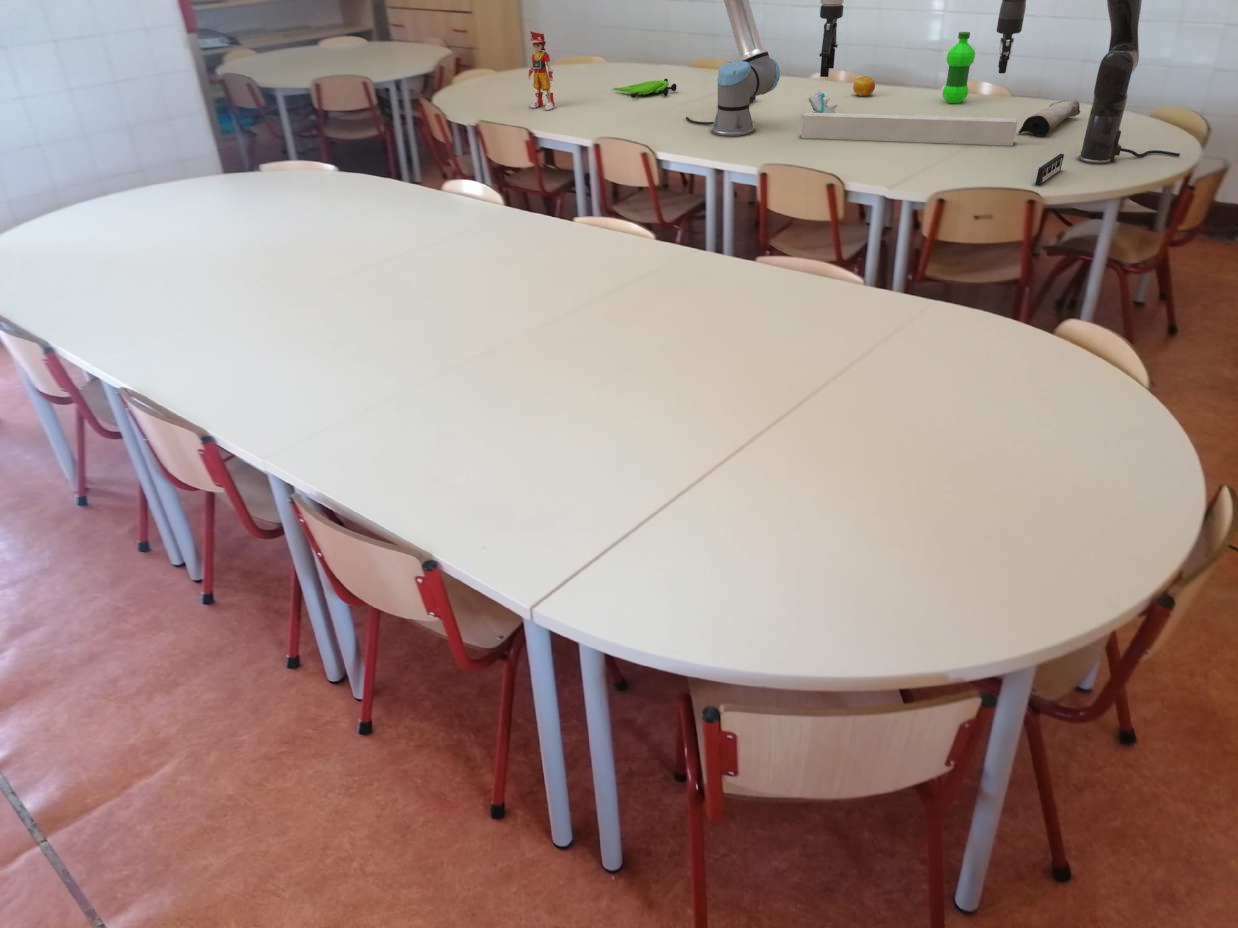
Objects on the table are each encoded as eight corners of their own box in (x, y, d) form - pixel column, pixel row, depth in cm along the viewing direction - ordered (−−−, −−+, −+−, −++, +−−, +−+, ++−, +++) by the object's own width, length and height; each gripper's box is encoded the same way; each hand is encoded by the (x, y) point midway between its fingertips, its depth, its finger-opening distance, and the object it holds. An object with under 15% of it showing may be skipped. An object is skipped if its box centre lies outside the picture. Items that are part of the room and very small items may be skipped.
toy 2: (686, 85, 398) (631, 84, 414) (685, 72, 395) (629, 72, 411) (651, 104, 381) (596, 103, 397) (650, 92, 378) (594, 91, 394)
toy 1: (525, 109, 381) (517, 32, 364) (534, 104, 388) (527, 28, 371) (550, 110, 377) (543, 32, 360) (559, 105, 384) (553, 28, 367)
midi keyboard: (1039, 185, 269) (1043, 168, 266) (1035, 184, 270) (1038, 168, 267) (1060, 170, 279) (1064, 154, 277) (1056, 169, 280) (1060, 153, 277)
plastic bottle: (973, 101, 354) (984, 32, 339) (955, 106, 349) (966, 36, 335) (952, 97, 361) (962, 29, 346) (934, 102, 356) (944, 33, 342)
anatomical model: (804, 89, 349) (829, 82, 348) (807, 116, 355) (832, 109, 354) (814, 99, 336) (840, 91, 335) (817, 126, 342) (843, 119, 341)
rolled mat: (1047, 105, 331) (1071, 88, 323) (1061, 126, 332) (1085, 109, 324) (1014, 127, 314) (1039, 109, 306) (1028, 149, 314) (1054, 132, 306)
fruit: (848, 88, 368) (860, 70, 365) (850, 91, 375) (862, 74, 372) (865, 99, 366) (877, 81, 363) (867, 102, 374) (879, 85, 371)
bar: (801, 138, 324) (802, 115, 320) (803, 134, 328) (804, 112, 324) (1012, 145, 304) (1017, 122, 299) (1012, 142, 307) (1017, 118, 303)
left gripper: (838, 10, 289) (833, 80, 301) (848, -1, 308) (842, 65, 320) (815, 11, 291) (810, 80, 303) (825, -1, 310) (821, 65, 322)
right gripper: (1024, 20, 279) (1014, 75, 288) (1023, 12, 290) (1013, 66, 299) (999, 20, 281) (989, 75, 290) (998, 12, 292) (989, 66, 301)
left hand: (827, 72), depth 312 cm, fingers open, 13 cm apart
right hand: (1001, 70), depth 295 cm, fingers open, 8 cm apart
